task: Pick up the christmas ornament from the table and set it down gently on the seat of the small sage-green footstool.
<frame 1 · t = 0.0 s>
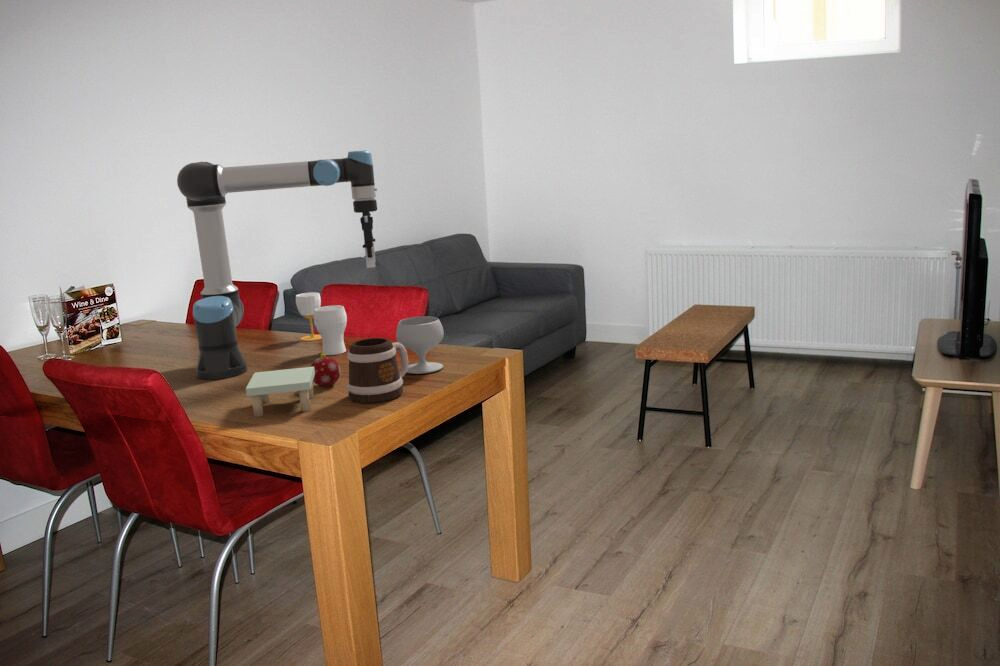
hand: (371, 264, 278), 28 cm above the table, fingers open, 13 cm apart
mug: (383, 394, 231), on the table
cup: (334, 352, 283), on the table
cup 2: (313, 338, 307), on the table
footstool: (285, 406, 226), on the table
chalice: (423, 370, 253), on the table
christmas ornament: (326, 386, 243), on the table
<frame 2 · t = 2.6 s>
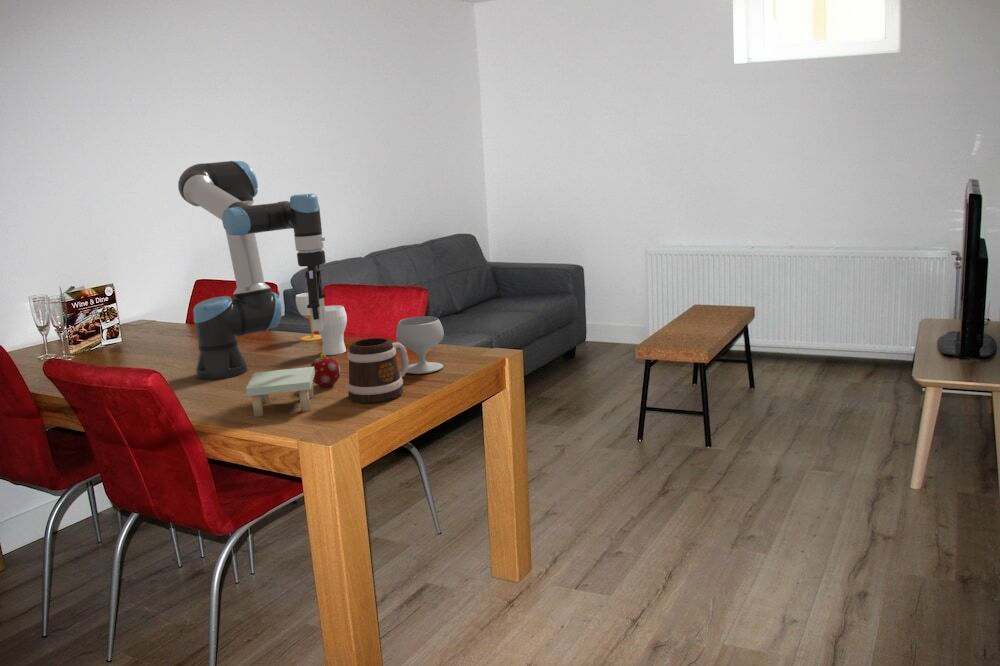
hand: (319, 325, 239), 18 cm above the table, fingers open, 13 cm apart
nothing on the table moved.
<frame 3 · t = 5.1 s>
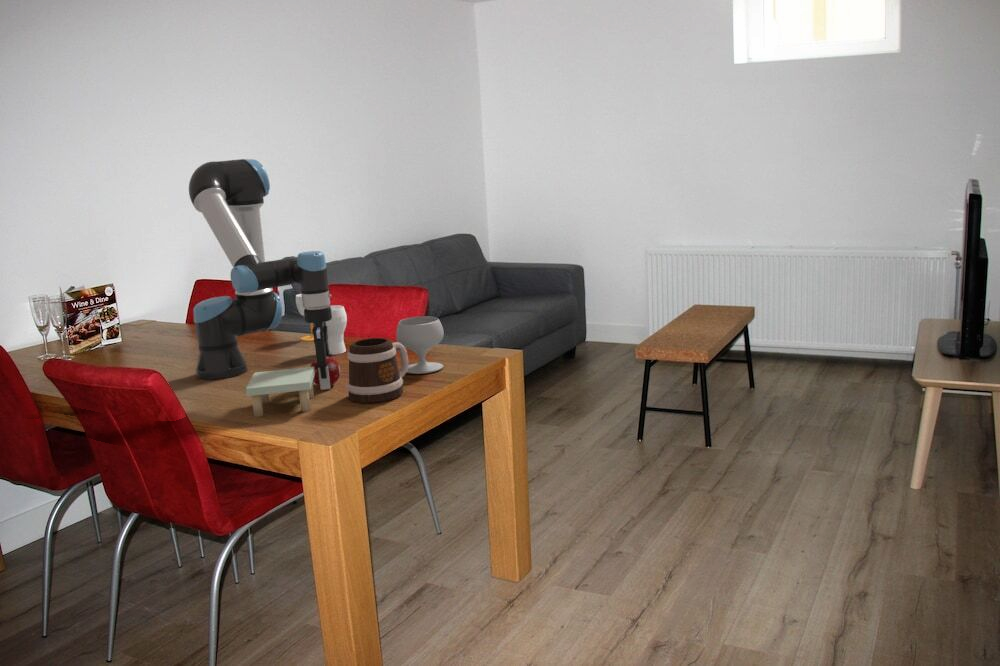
hand: (326, 384, 243), 0 cm above the table, fingers closed on christmas ornament, 9 cm apart
christmas ornament: (326, 386, 243), on the table, touching gripper
everything else where it was.
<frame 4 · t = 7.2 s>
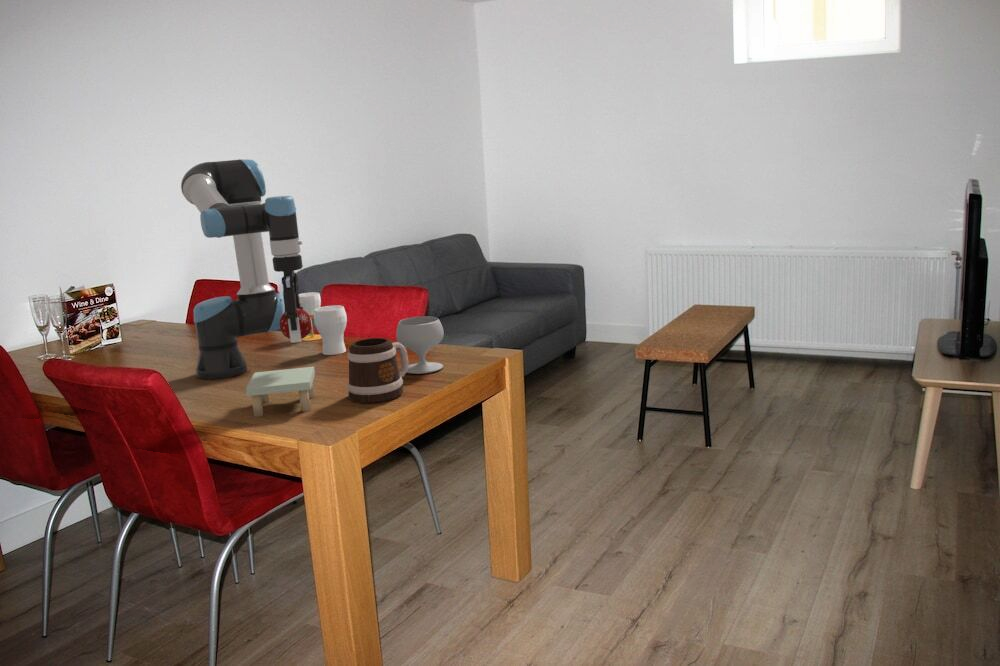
hand: (297, 338, 230), 17 cm above the table, fingers closed on christmas ornament, 9 cm apart
christmas ornament: (297, 340, 230), point 16 cm above the table, touching gripper
everything else where it was.
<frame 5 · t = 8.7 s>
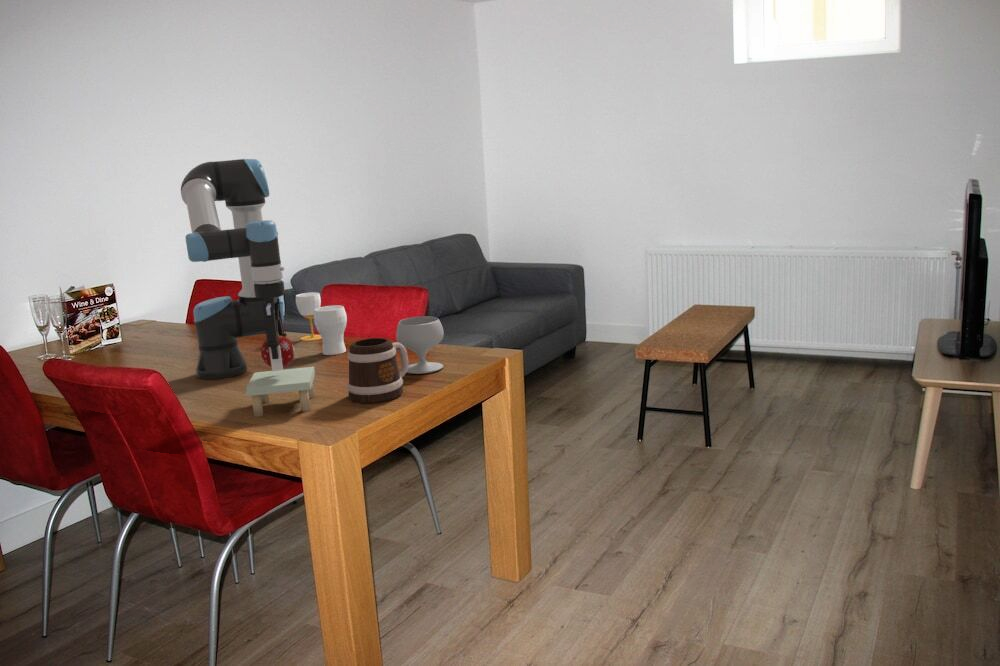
hand: (279, 365, 224), 11 cm above the table, fingers closed on christmas ornament, 9 cm apart
christmas ornament: (280, 368, 224), point 10 cm above the table, touching gripper
everything else where it was.
when the fingers open (10 cm above the table, at t = 9.8 s): christmas ornament drops 1 cm, resting on footstool.
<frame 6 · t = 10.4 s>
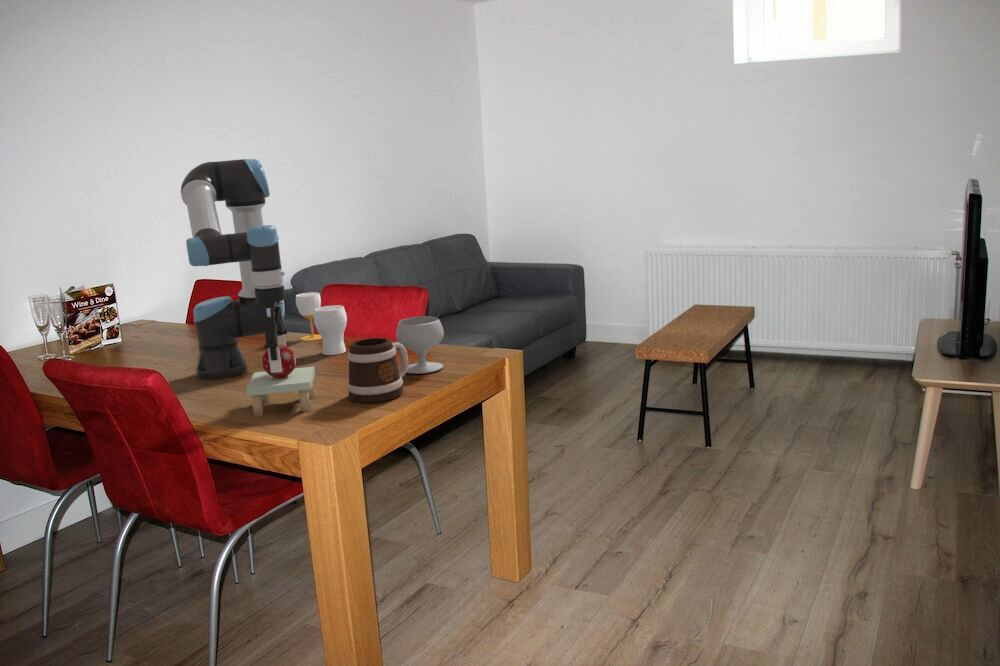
hand: (279, 365, 224), 11 cm above the table, fingers open, 13 cm apart
christmas ornament: (281, 377, 225), point 8 cm above the table, touching footstool
everything else where it was.
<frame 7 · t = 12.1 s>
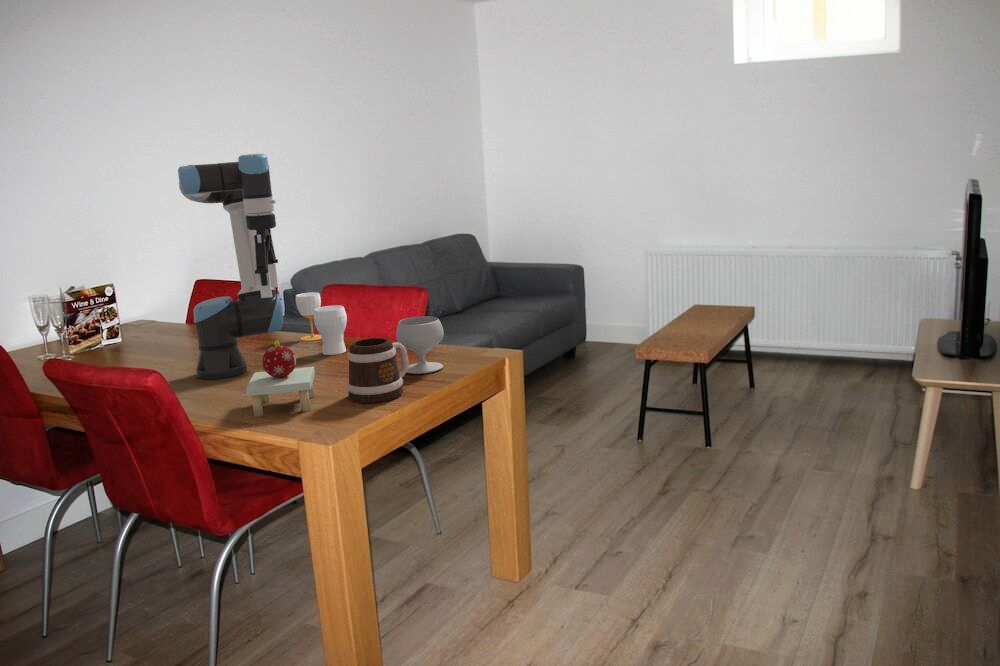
hand: (270, 292, 230), 29 cm above the table, fingers open, 13 cm apart
nothing on the table moved.
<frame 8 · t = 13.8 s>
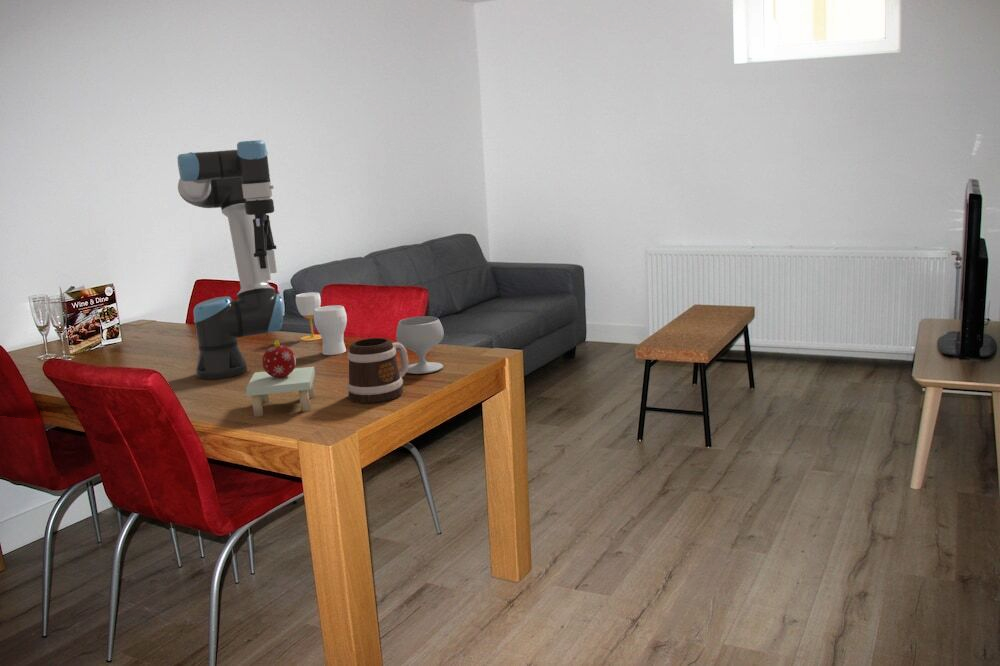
hand: (268, 276, 234), 33 cm above the table, fingers open, 13 cm apart
nothing on the table moved.
at the end: christmas ornament 0.1 cm from the footstool (horizontally); christmas ornament point 7.8 cm above the table; the gripper is holding nothing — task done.
